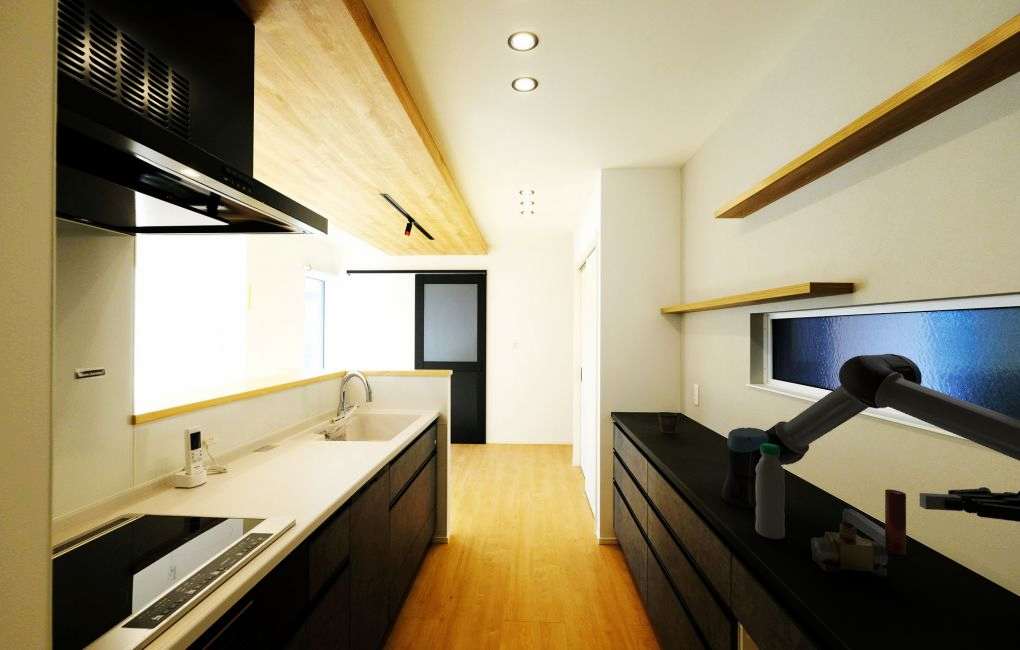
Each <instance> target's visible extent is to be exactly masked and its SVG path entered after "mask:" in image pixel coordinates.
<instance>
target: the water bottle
mask: <svg viewBox="0 0 1020 650" xmlns="http://www.w3.org/2000/svg"><path fill="white" fill-rule="evenodd" d="M760 451H761V454H762V458H761V459H760V460H759V463H758V464H757V466H756V510H755V523H754V524H755V531H756V533H757V534H759V535H760V536H762V537H764V538H767V539H770V540H782V539H784V538H785V537H786V527H785V522H786V521H785V520H786V515H785V506H786V505H785V504H786V503H785V502H786V486H785V485H786V484H785V476H786V472H785V469H784V468H783V465H781V463H780V461H779V460H778V456H780V455H779V454H780V447H779V446H777V445H774V444H768V443H764V444H761V446H760Z"/></svg>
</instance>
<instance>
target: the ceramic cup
mask: <svg viewBox="0 0 1020 650" xmlns="http://www.w3.org/2000/svg"><path fill="white" fill-rule="evenodd" d="M657 415H658V417H657V418H658V423H659V428H660V432H661V433H664V434H674V433H675V430H676V427H677V426H678V425H680V424H681V423H682V422H683V417H682V416H678V413H675V412H670V411H669V412H668V411H661V412H660V411H659V412H658V413H657ZM679 418H680V419H681V420H680V421H679V422H677V420H678V419H679Z"/></svg>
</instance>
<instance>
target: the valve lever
mask: <svg viewBox="0 0 1020 650" xmlns="http://www.w3.org/2000/svg"><path fill="white" fill-rule="evenodd" d="M884 502H885V503H884V510H885V512H884V528H883V527H882V526H880V525H878V524H877V523H875V522H873V521H872V520H870V519H869V518H867V517H866V516H864V515H863V514H861V513H859V512H858V511H856V510H855V509H853V508H843V511H842V513H841V515H842V521H841V523H842V524H843V525H844V526H846V527H851V528H852V527H854V526H855V527H856V528H857V530H859V531H861V532H862V533H863V534H864V535H867V536H868V537H869V538H871V539H872V541H873V540H874V541H876V542H878V543H879V544H881V545H882V546H883V547H885V549H886V551H887V552H890V553H893V554H894V555H895V554H896V555H901V556H902V555H903V556H904V555H907V494H906V493H905V492H903V491H900V490H896V489H889V488H887V489H885V490H884Z"/></svg>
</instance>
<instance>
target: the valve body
mask: <svg viewBox="0 0 1020 650" xmlns="http://www.w3.org/2000/svg"><path fill="white" fill-rule="evenodd" d="M857 533H858V528H856V527H855V526H854V527H852V528H851V527H846V526H844V525H843V524H842V522H840V523H839V532H836V531H824V535H822V536H821V537H811V540H810V548H811V557H812V561H813V562H814V563H816V564H817V565H818V567H819V568H821V569H822V570H823V571H824V572H825V573H835V574H840V571H841V570H843V571H844V570H845V571H856V572H857V571H858V572H867V573H868V574H870V575H871V576H872V577H873V576H875V577H884V578H885V577H886V578H887V576H888V575H887V574H888V571H887V568H885V567H884V566H887V565H888V562H889V555H888V554H889V553H888V550H886V549H885V547H883V546H882V545H881V544H879V543H878V542H876V541H875V540H874V541H873V540H870V539H869V538H862V537H861V536H860V535H859V534H857Z"/></svg>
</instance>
